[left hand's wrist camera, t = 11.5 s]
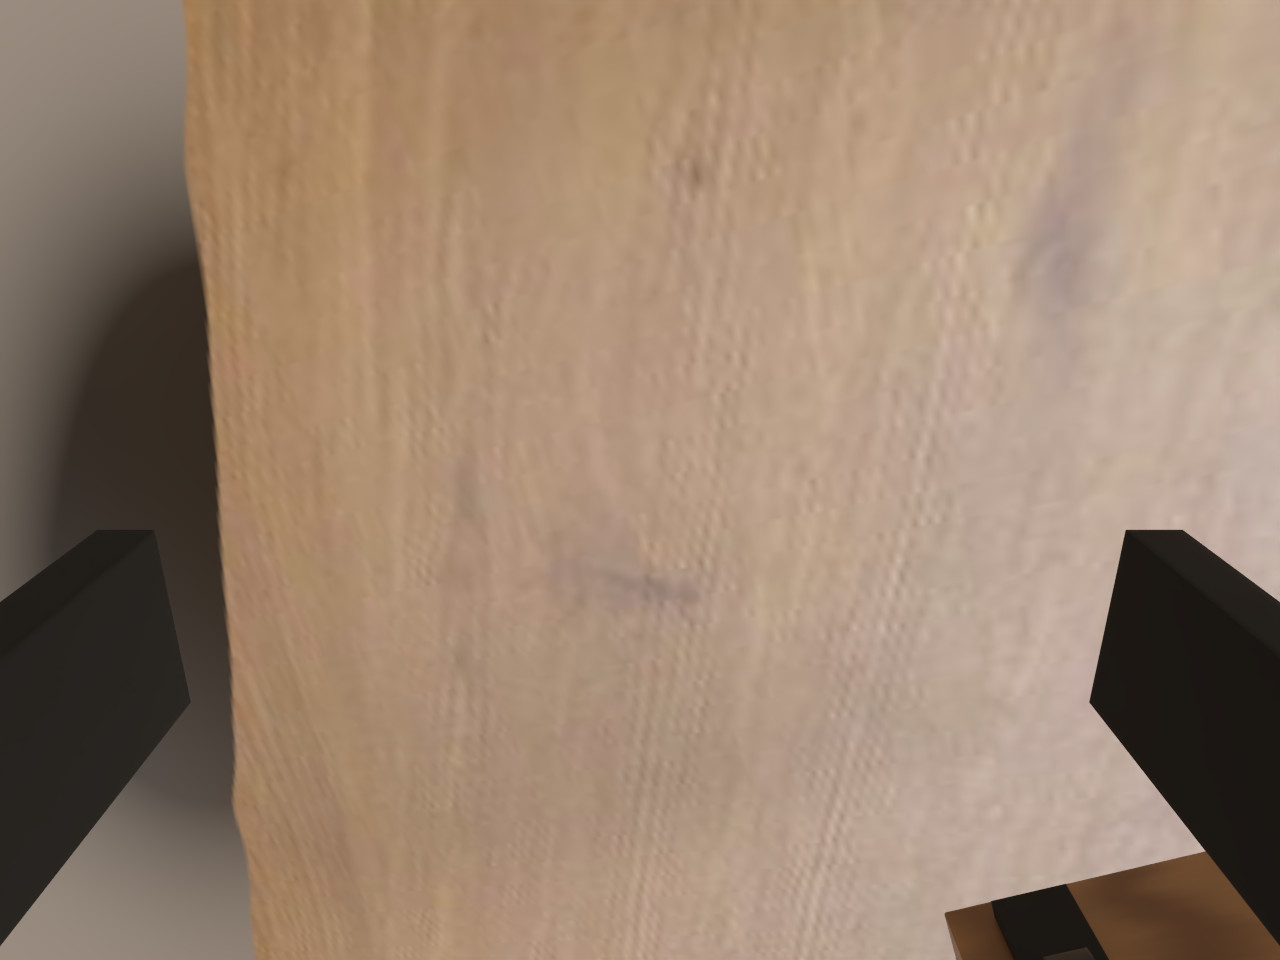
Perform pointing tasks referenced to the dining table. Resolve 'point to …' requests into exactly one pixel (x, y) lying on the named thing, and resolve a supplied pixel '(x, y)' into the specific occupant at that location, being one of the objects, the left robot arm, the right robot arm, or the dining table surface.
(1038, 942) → the right robot arm
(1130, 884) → the bar
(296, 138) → the dining table surface
